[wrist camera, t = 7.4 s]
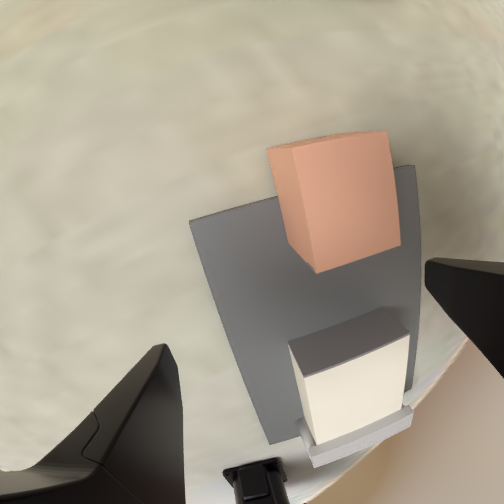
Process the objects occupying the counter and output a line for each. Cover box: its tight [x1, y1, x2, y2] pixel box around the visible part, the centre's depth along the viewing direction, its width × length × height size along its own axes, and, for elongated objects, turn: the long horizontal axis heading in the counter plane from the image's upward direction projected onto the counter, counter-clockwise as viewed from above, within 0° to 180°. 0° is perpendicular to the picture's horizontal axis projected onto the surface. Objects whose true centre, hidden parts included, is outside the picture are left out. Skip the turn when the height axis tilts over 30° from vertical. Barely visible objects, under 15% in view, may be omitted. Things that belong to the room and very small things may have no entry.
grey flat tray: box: [189, 165, 421, 468], centre depth 20 cm, size 23×16×6 cm
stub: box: [267, 131, 401, 274], centre depth 16 cm, size 6×5×5 cm
